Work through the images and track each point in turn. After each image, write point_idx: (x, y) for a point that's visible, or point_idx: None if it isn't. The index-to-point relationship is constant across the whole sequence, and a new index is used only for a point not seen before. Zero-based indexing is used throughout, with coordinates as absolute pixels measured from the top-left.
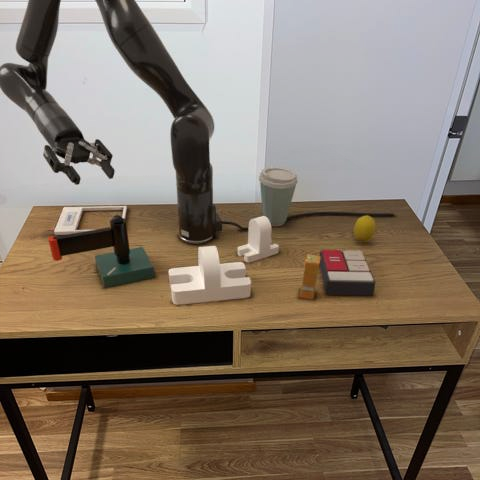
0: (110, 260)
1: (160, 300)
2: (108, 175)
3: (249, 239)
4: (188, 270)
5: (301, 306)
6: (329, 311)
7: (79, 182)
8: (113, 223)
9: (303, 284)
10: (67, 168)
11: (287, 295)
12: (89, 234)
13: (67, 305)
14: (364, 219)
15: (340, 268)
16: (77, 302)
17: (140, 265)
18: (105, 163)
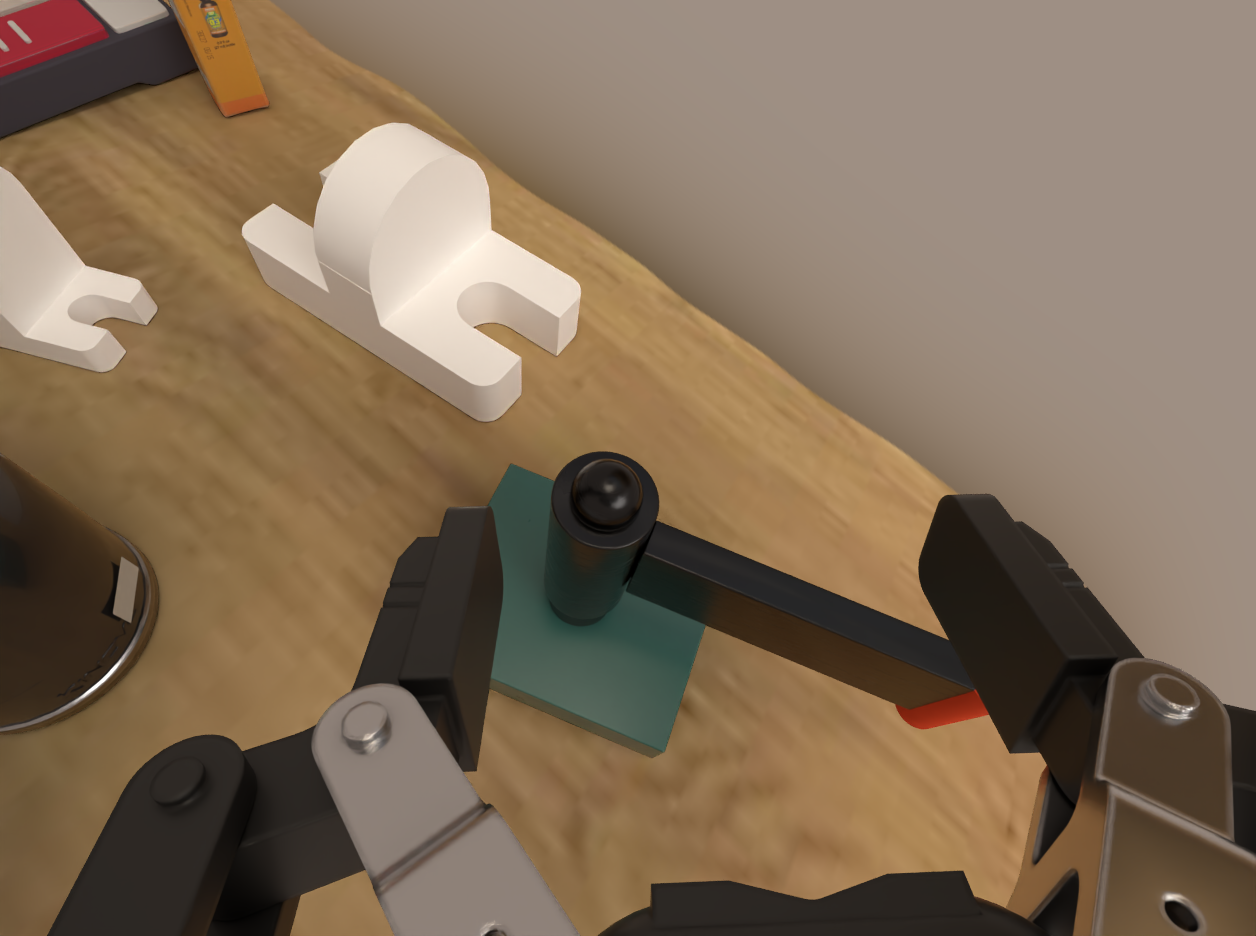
0: (626, 646)
1: (597, 372)
2: (495, 601)
3: (11, 306)
4: (437, 332)
5: (308, 93)
6: (280, 44)
7: (928, 540)
8: (645, 492)
9: (248, 50)
10: (1127, 656)
11: (280, 135)
12: (784, 574)
13: (881, 575)
14: None
15: (71, 8)
16: (843, 565)
17: (546, 509)
18: (461, 622)
